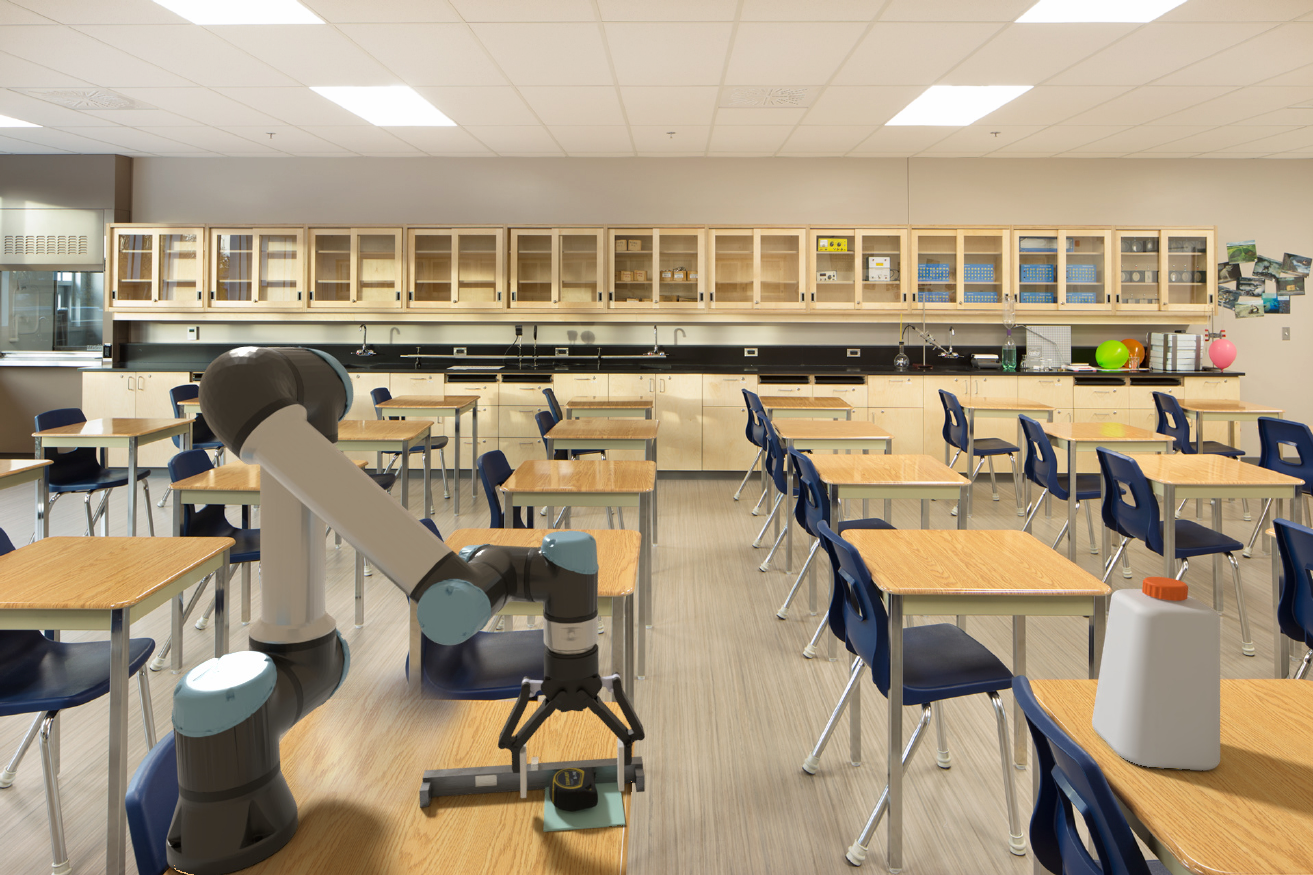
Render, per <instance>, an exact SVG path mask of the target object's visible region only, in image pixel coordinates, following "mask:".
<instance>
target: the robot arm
mask: <svg viewBox="0 0 1313 875" xmlns="http://www.w3.org/2000/svg"><path fill="white" fill-rule="evenodd" d="M354 394H355V393H354V386H353V381H352V379H351V376H350V375H349V373H348V370H347V369H346V368H345V367H344V365H342V364H341V362H340V361H339V360H338V359H337V358H335V357H334V356H332V354H329V353H328V352H325V351H323V350H319V349H314V348H310V347H309V348H308V347H303V346H292V347H291V346H286V347H283V346H282V347H281V346H280V347H261V346H243V347H237V348H233V349H231V350H228V351H226V352H224V353H222V354H220V355H219V356H217V358H215V359H214V360H212V361H211V363H210V364H208V365H207V367H206V369H205V371H204V372H203V373H202V375H201V378H200V382H199V385H198V395H197V396H198V404H199V408H200V411H201V414H202V417H203V419H204V420H205V422H206V425H207V426H208V427H209V429H210V430H211V432H212V433H213V434H214V436H215V437H216V438H217V439H218V440H219V441H220V442H221V443H222V444H223V446H224V447H226V448H227V449H228V450H229V451H230V452H231V453H232V454H233V455H235V457H236V458H238V459H239V460H240V461H241V462H242V463H244V464H246V465H259V494H260V495H259V500H260V501H259V510H260V511H259V523H260V524H259V525H260V529H259V531H260V532H259V534H260V537H259V538H260V539H259V540H260V544H259V545H260V546H259V548H260V553H259V554H260V555H259V556H260V561H259V562H260V570H259V571H260V573H259V574H260V575H259V576H260V577H259V578H260V581H259V582H260V590H259V591H260V618H258V619H257V620H256V621H255V622H254V623H253V624H252V625H251V626H250V627H249V629H248V650H243V651H235V652H229V653H225V654H223V655H222V656H221V657H218V658H217V657H212V658H210V659H208V660H207V659H206V661H203V662H202V663H200V664H198V665H196V666H194V667H193V668H191V669H190V670H188V671H187V672H186V673H185V674H184V675H183V676H182V677H181V678H180V679H179V681H178V682H177V683H176V685H175V687H174V690H173V695H172V710H171V724H172V729H173V738H174V749H175V761H176V773H177V782H178V783H177V784H178V799H177V802H176V805H175V808H174V812H173V816H172V819H171V822H170V826H169V829H168V832H167V836H166V840H165V849H166V861H167V864H168V866H169V868H171V869H172V870H173V868H176V870H180V871H182V872H186V873H188V874H194V875H225V874H230V873H234V872H236V871H241V870H243V869H245V868H248V867H250V866H253V865H255V864H257V863H260V862H262V861H263V860H265V859H267V858H269V857H271V856H272V855H273V854H276V853H277V852H278V851H279V850H280V849H282V848H283V847H284V846H285V845H286V844H287V843H288V842H290V840H292V838H293V836H294V835H295V833H296V832H297V829H298V826H299V815H298V814H299V813H298V805H297V802H296V800H295V798H294V795H293V793H292V791H291V789H290V787H289V784H288V782H287V780H286V779H285V777H284V774H283V772H282V769H281V768H282V767H281V752H280V738H281V736H282V735H283V734H285V733H286V732H287V731H288V730H289V729H292V727H293V726H295V725H297V723H299V722H300V721H301V720H303V719H304V718H305V717H307V716H308V715H309V714H311V713H312V712H313V711H314V710H316V709H317V708H319V707H321V706H322V705H323V704H325V703H327V701H329V700H330V699H331V698H332V697H334V695H335V693H336V692H337V691H338V690H339V689H340V688H341V687H342V686H343V684H344V682H345V681H346V679H347V677H348V674H349V671H350V667H351V650H350V647H349V643H348V642H347V639H344V638H343V637H342V632H341V631H340V630H339V629H338V628H337V620H336V618H334V617H333V616H332V615H331V614H329V613H328V612H327V611H326V583H327V582H326V581H327V580H326V577H327V575H326V573H327V572H326V564H327V563H326V561H327V560H326V559H327V557H326V556H327V550H326V549H327V545H326V544H327V526H328V527H330V529H331V530H333V531H334V532H335V533H336V534H337V535H339V536H340V538H342V539H343V540H344V541H345V542H346V543H347V544H348V545H350V547H351V548H353V550H355V551H356V552H357V553H358V554H360V555H361V556H362V557H363V558H364V559H365V560H367V561H368V562H369V563H370V564H371V565H373V567H374V568H375V569H377V570H378V571H379V572H380V573H381V574H383V576H385V577H386V578H387V579H388V580H389V581H390V582H391V583H392V584H394V585H395V586H396V587H397V588H398V589H400V591H402V592H403V593H404V594H405V595H406V596H407V597H408V598H410V599H411V600H412V601H413V602H414V603H415V604H416V605H417V607H416V619H417V622H418V625H419V627H420V628H421V631H422V633H423V634H424V635H425V636H426V637H427V638H428V639H429V640H430V641H432V642H434V643H437V644H439V645H443V646H455V645H459V644H461V643H464V642H466V641H467V640H468V639H470V638H472V637H473V636H475V635H476V634H477V633H478V632H480V631H482V630H483V629H484V628H485V627H486V626H487V625H488V623H489V621H491V620H492V618H494V617H495V615H496V614H498V613H499V612H500V611H501V610H502V609H503V608H504V607H505V606H506V605H508V604H509V603H510V602H515V603H516V602H517V603H518V602H520V603H542V607H543V609H542V610H543V612H542V616H543V617H542V620H543V644H544V645H545V646H544V648H543V678H542V679H541V680H537V679H532V678H531V677H530V676H527V675H526V676H524V677H523V678H522V680H521V687H520V688H521V689H520V693H519V695H518V697H517V699H516V701H515V703H514V705H513V708H512V709H511V711H510V713H509V715H508V717H507V719H506V720H505V723H504V725H503V727H502V730H500V733H499V736H498V743H497V748H498V749H500V750H504V749H507V750H509V751H510V752H511V765H512V771H513V773H520V788H521V791H520V799H527V795H528V794H527V792H528V790H527V764H528V763H527V762H528V760H527V759H528V758H527V757H528V756H527V742H528V741H529V740H530V739H531V738H532V736H533V735H534V734H535V733H536V732H537V731H538V730H539V729H540V727H541V726H542V725H543V723H544V722H545V721H546V720H547V719H548V718H549V717H551V716H552V715H553V713H554V712H555V711H556V710H557V711H560V713H568V712H570V711H573V712H584V710H585V709H587V708H588V709H589V710H590V711H591V712H592V713H593V715H596V716H597V717H598V719H600V720H601V722H603V723H604V724H605V725H606V727H607V728H608V729H609V730H610V731H611V732H612V733H613V734H614V735H615V737H617V738H616V739H617V740H616V742H617V746H616V747H617V749H616V751H617V752H616V754H617V755H616V756H617V757H616V758H617V781H618V788H619V791H621V792H625V784H624V766H627V765H631V763H632V757H633V745H634V743H635V742H636V741H639V742H641V741H643V740H645V737H646V735H645V730H644V726H643V724H642V722H641V720H640V719H639V717H638V715H637V713H636V711H635V710H634V707H633V706H632V703H631V702H630V700H629V698H628V696H627V695H626V692H625V691H624V689H623V686H622V680H621V675H620V673H619V672H618V671H614V672H612V674H611V675H606V676H602V677H601V675H600V671H599V669H600V668H599V667H600V666H599V645H598V644H597V643H598V641H599V608H598V605H599V604H598V603H599V602H598V601H599V600H598V599H599V570H600V567H599V566H600V565H599V563H598V562H599V561H598V550H597V549H598V548H597V541H596V538H595V537H594V536H593V535H592V534H590V533H588V532H586V531H579V530H567V531H561V530H560V531H554V532H550V533H547V534H546V535H545V536H543V538H542V541H541V543H542V544H541V545H540V546H516V545H515V546H514V545H497V544H491V543H483V544H471V545H470V544H469V545H464V546H463V547H462V548H461V549H460V550H459V552H458V553H456V552H455V551H454V550H453V549H452V548H450V547H449V546H448V545H447V544H446V543H445V542H444V541H443V540H442V539H440V538H439V537H438V536H437V535H436V534H435V533H434V532H432V530H430V529H429V528H428V527H427V526H426V525H424V524H423V523H422V522H421V521H420V520H419V519H418V518H417V517H416V516H414V515H413V514H412V513H411V512H410V511H409V510H408V509H407V508H405V507H404V506H403V505H402V504H401V503H400V502H399V501H398V500H397V499H395V498H394V497H393V496H392V495H391V494H390V493H389V492H387V491H386V490H385V489H384V488H383V487H382V486H380V485H379V483H377V481H376V480H374V479H373V478H372V477H371V476H370V475H368V474H367V473H366V472H365V471H364V470H363V469H362V468H361V467H359V466H358V465H357V464H356V463H355V462H354V461H353V460H352V459H351V458H349V457H348V456H347V455H346V454H345V453H343V452H342V451H341V450H340V449H339V447H337V445H338V444H339V423H340V422H342V421H343V419H344V418H345V417H346V415H348V414H349V412H351V411H350V410H351V408H352V405H353V404H354ZM602 688H606V689H607V691H608V692H609V693H611V694H612V693H613V696H614V698H615V701H616V702H617V704H618V706H619V708H620V710H621V712H622V715H623V716H624V718H625V720H626V721H627V723H628V725H629V727H630V729H629V728H628V727H627V726H626V725H625V724H624V723H623V722H622V720H620V718H618V716H617V715H616V714H615V713H614V712H613V711H612V710H611V709H610V708H609V707H608V706H607V705H606V703H605V702H603V700H602V699H601V697H600V696H599V693H600V691H601V690H602ZM538 691H540V692H541V693H542V694H543V696H544V698H543V700H542V703H541V704H540V705H539V707H537V709H536V710H535V711H534V712H533V714H531V716H530V717H529V718H528V720H526V721H525V723H524V724H523V725H522V727H521V728H520V729H519V730H518V731H517V732H516V734H514V732H515V730H516V728H517V727H518V724H519V722H520V720H521V718H522V716H523V714H524V712H525V710H526V708H527V706H528V704H529V702H530V701H529V700H530V698H532V697H535V695H536V693H537V692H538ZM174 865H175V866H174Z"/></svg>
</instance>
